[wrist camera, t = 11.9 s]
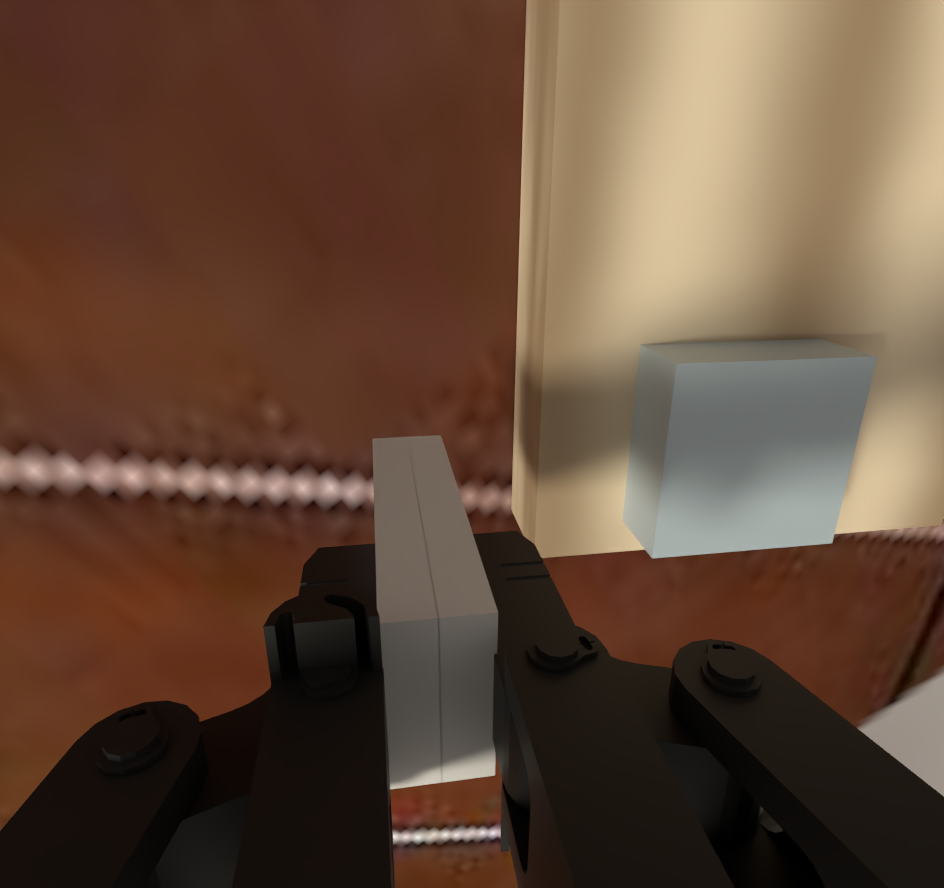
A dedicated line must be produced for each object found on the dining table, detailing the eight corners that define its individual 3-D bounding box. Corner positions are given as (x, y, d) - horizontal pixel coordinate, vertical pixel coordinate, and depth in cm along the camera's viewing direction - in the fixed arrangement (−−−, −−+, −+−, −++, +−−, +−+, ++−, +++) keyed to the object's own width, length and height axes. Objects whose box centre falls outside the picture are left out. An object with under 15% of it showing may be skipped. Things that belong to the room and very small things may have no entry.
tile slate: (622, 520, 18) (652, 558, 16) (640, 344, 16) (676, 363, 14) (785, 508, 18) (832, 543, 16) (820, 338, 16) (877, 356, 15)
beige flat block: (511, 509, 20) (534, 558, 18) (526, -5, 15) (561, -50, 12) (869, 484, 22) (940, 525, 19) (991, 19, 17) (1110, -15, 14)
